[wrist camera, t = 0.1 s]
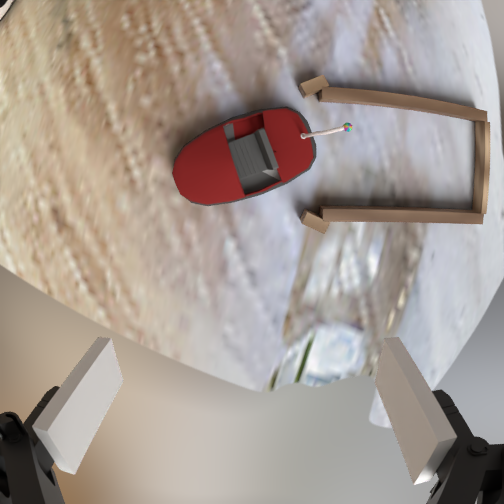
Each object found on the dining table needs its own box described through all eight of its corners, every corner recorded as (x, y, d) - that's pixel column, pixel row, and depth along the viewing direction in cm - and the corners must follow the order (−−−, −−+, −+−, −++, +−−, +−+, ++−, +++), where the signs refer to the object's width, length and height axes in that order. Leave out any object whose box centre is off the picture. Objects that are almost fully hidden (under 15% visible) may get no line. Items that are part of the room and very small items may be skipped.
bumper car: (165, 147, 39) (136, 147, 29) (316, 90, 36) (332, 73, 26) (194, 218, 41) (173, 239, 32) (343, 164, 39) (367, 170, 29)
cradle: (297, 78, 35) (300, 73, 33) (479, 102, 34) (488, 101, 32) (299, 228, 41) (301, 234, 39) (474, 230, 40) (483, 234, 37)
